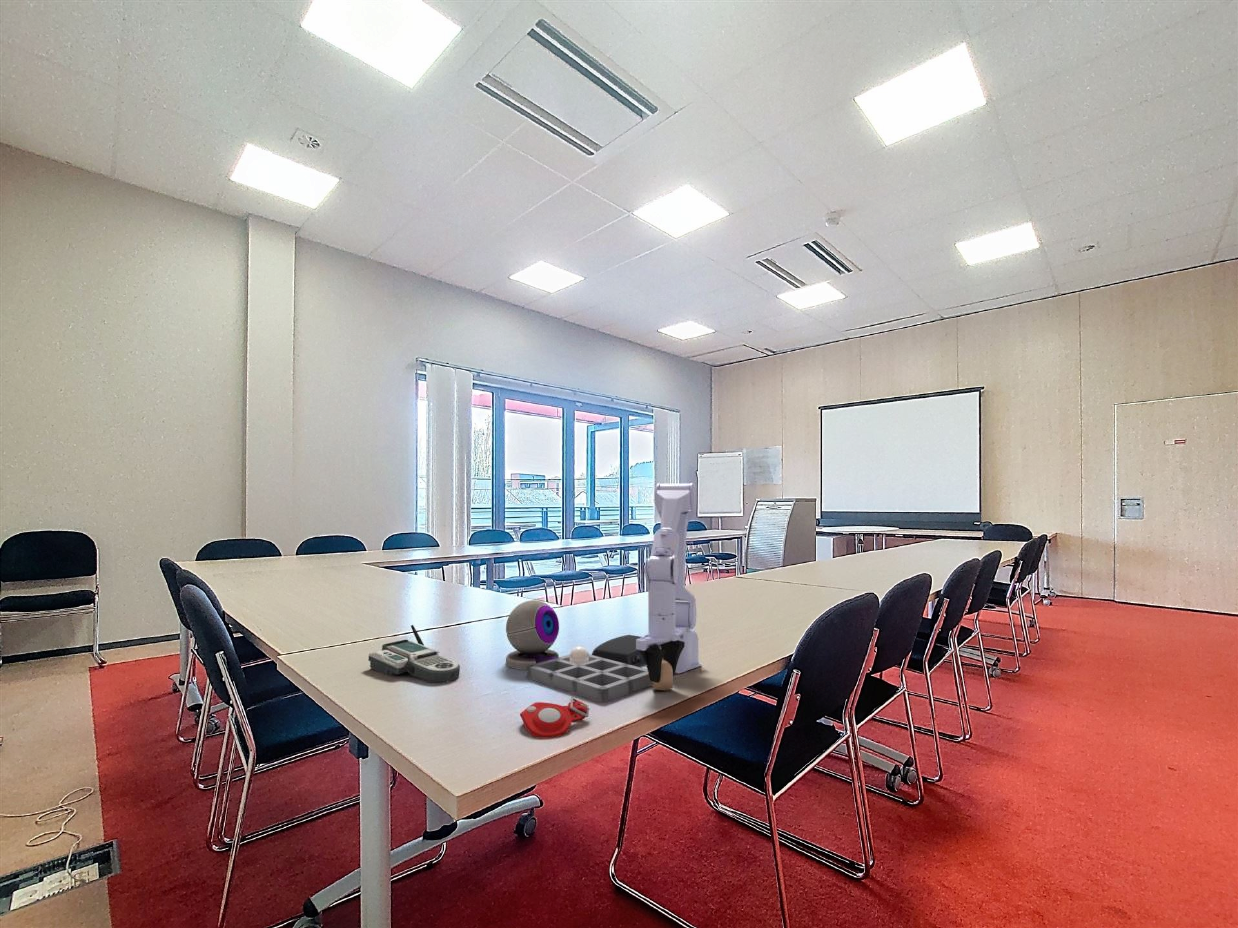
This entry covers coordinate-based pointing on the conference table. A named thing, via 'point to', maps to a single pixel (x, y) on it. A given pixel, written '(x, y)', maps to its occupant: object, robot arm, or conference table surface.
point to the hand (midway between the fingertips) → (662, 678)
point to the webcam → (531, 634)
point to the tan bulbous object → (664, 677)
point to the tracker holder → (553, 718)
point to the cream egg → (579, 655)
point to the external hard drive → (621, 650)
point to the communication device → (414, 661)
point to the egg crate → (591, 677)
